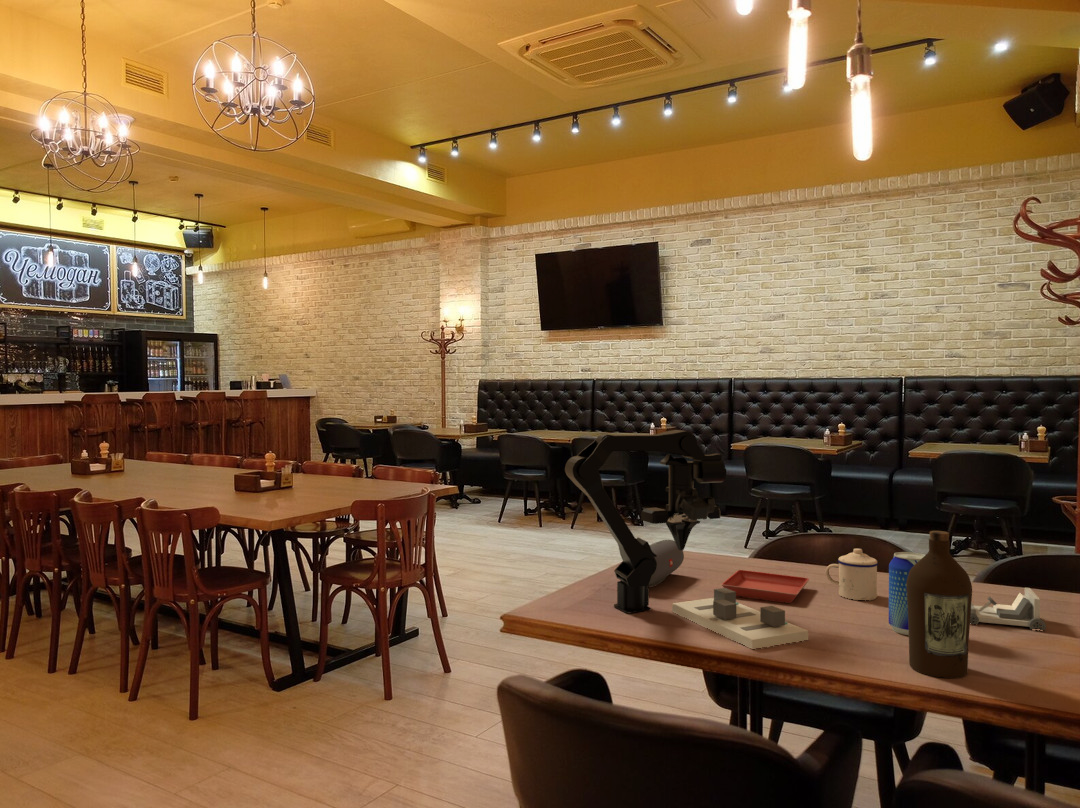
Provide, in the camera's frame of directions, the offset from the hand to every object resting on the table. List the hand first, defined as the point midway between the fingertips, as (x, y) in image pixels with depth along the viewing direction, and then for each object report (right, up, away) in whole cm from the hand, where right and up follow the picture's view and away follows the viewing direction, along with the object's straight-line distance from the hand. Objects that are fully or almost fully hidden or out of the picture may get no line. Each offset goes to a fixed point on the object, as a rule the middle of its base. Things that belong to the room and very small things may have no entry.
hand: (681, 550), depth 183 cm
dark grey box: (+6, -11, -17) cm, 21 cm away
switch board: (+9, -13, -15) cm, 22 cm away
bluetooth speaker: (-3, -13, +22) cm, 25 cm away
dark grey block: (+15, -11, -21) cm, 29 cm away
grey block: (+9, -11, -7) cm, 15 cm away
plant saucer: (+23, -13, +12) cm, 29 cm away
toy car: (+66, -14, -11) cm, 69 cm away
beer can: (+45, -14, -19) cm, 51 cm away
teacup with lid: (+43, -13, +8) cm, 46 cm away
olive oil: (+39, -14, -41) cm, 59 cm away
